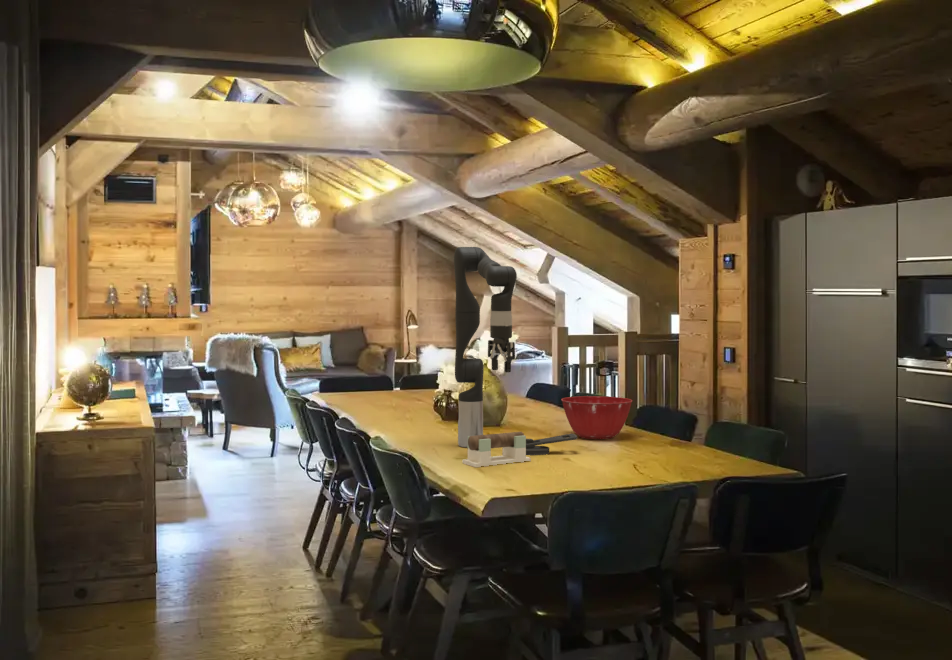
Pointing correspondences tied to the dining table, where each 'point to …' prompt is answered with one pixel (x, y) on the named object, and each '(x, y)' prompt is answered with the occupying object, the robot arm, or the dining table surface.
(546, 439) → the zipper pull
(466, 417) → the robot arm
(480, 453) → the white cradle stand
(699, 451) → the dining table surface
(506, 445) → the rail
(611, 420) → the mixing bowl
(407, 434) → the dining table surface
